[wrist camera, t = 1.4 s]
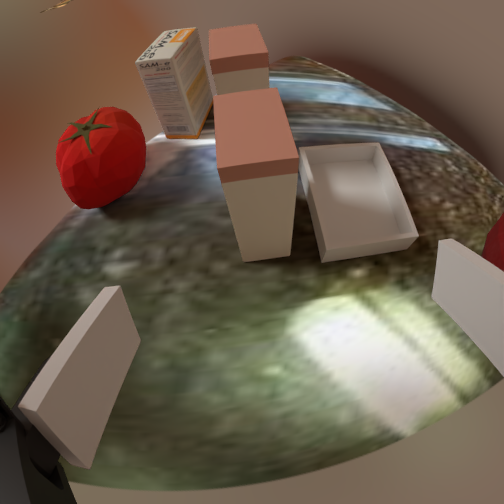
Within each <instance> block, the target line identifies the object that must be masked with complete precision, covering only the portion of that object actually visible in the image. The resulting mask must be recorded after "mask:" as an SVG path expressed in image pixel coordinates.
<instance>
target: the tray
mask: <svg viewBox="0 0 504 504" xmlns="http://www.w3.org/2000/svg"><path fill="white" fill-rule="evenodd" d="M298 156H299V165H298V169H299V172H300V176H301V180H302V184H303V187H304V191H305V195H306V199H307V203H308V207H309V211H310V215H311V219H312V223H313V227H314V232H315V236H316V240H317V245H318V249H319V253H320V258H321V262H322V263H324V262H330V261H337V260H343V259H350V258H356V257H363V256H369V255H375V254H381V253H387V252H393V251H399V250H405V249H408V248H409V246H410V245H411V244H412V243H413V242H414V241H415V240H416V239H417V237H418V236H419V235H418V233H417V230H416V227H415V224H414V222H413V219H412V216H411V214H410V211H409V208H408V206H407V203H406V201H405V198H404V196H403V194H402V191H401V189H400V187H399V184H398V182H397V180H396V177H395V175H394V173H393V171H392V169H391V166H390V164H389V162H388V160H387V158H386V156H385V154H384V152H383V150H382V148H381V146H380V144H379V143H353V144H335V145H321V146H309V147H299V154H298Z"/></svg>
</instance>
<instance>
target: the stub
mask: <svg viewBox="0 0 504 504" xmlns="http://www.w3.org/2000/svg"><path fill="white" fill-rule="evenodd" d="M213 103H214V122H215V140H216V156H217V169H218V173H219V176H220V180H221V184H222V187H223V191H224V194H225V198H226V202H227V205H228V209H229V212H230V216H231V220H232V223H233V227H234V230H235V234H236V237H237V241H238V244H239V248H240V252H241V255H242V259H243V262H250V261H257V260H264V259H271V258H278V257H285V256H290V252H291V242H292V232H293V222H294V212H295V201H296V190H297V178H298V165H299V156H298V152H297V149H296V145H295V142H294V139H293V136H292V132H291V129H290V126H289V123H288V120H287V116H286V113H285V110H284V107H283V104H282V101H281V98H280V95H279V92H278V89H277V88H267V89H258V90H249V91H242V92H235V93H228V94H222V95H216V96H213Z"/></svg>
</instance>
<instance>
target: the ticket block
mask: <svg viewBox="0 0 504 504" xmlns="http://www.w3.org/2000/svg"><path fill="white" fill-rule="evenodd" d="M209 60H210V65H211V70H212V74H213V76H214V81H215V86H216V91H217V95H222V94H228V93H235V92H242V91H249V90H258V89H267V88H269V70H268V67H269V59H268V51H267V48H266V46H265V43H264V41H263V38H262V36H261V34H260V31H259V29H258V26H257V24H249V25H239V26H232V27H225V28H218V29H212V30H209Z"/></svg>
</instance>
